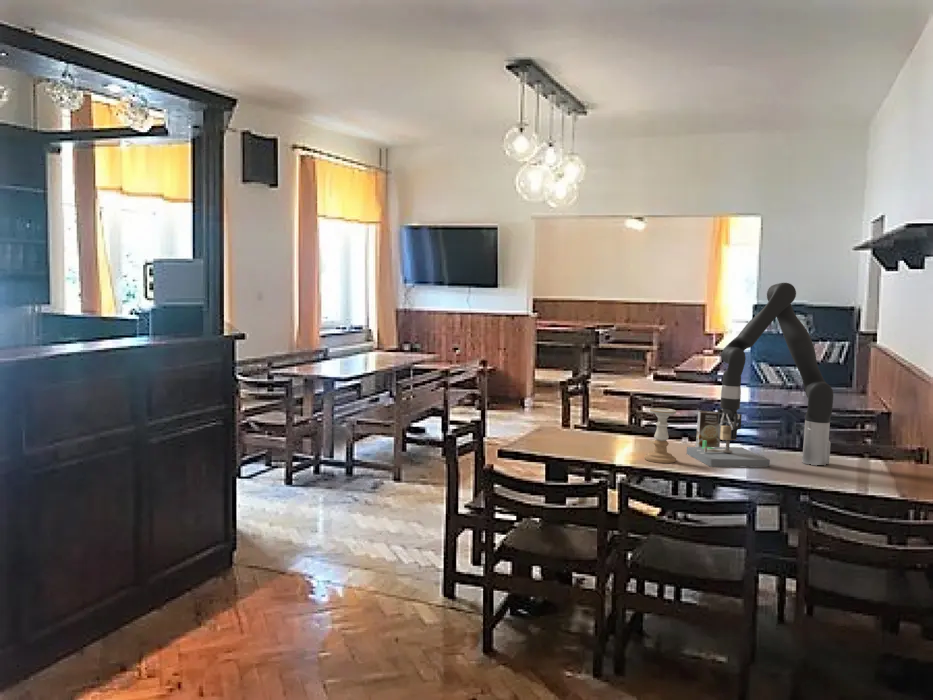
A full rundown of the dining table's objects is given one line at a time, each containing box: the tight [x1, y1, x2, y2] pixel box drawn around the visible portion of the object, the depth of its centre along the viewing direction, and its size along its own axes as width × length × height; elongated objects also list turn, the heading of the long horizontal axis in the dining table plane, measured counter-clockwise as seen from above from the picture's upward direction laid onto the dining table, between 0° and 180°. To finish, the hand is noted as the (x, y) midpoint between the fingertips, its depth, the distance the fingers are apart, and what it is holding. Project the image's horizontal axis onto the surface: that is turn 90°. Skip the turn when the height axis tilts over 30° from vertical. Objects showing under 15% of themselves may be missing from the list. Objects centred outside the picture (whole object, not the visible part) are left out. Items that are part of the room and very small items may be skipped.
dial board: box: [686, 440, 771, 468], centre depth 347 cm, size 24×24×6 cm
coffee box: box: [695, 410, 721, 447], centre depth 369 cm, size 9×6×16 cm
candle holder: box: [644, 407, 677, 464], centre depth 342 cm, size 12×12×20 cm
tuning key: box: [704, 425, 737, 453], centre depth 345 cm, size 13×4×11 cm, turn 103°
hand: (728, 437), depth 346 cm, fingers open, 7 cm apart
